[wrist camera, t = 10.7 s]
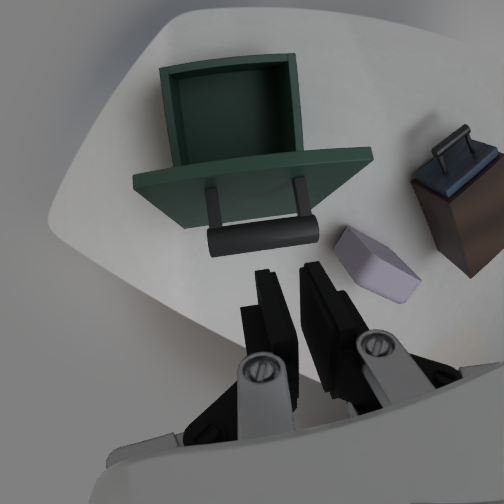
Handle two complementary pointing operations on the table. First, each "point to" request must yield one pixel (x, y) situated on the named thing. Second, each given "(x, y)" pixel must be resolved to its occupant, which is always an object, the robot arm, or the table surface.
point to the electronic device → (375, 266)
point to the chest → (232, 108)
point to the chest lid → (252, 195)
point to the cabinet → (468, 218)
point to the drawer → (456, 162)
